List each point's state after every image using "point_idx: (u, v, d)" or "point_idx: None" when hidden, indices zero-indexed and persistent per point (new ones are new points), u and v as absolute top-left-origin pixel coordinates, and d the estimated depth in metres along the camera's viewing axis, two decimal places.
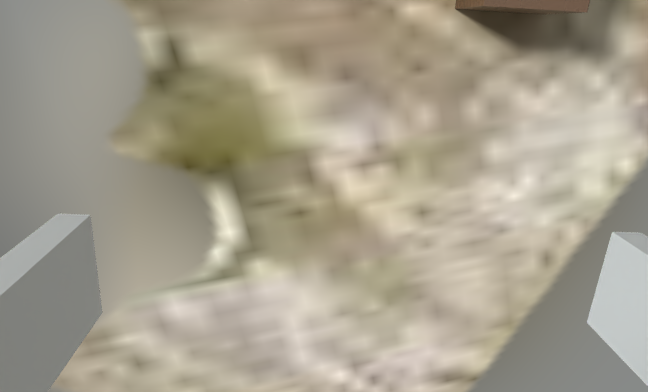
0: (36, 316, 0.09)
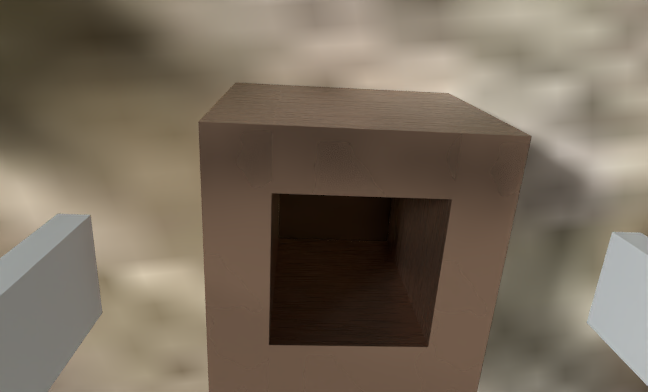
0: (36, 316, 0.09)
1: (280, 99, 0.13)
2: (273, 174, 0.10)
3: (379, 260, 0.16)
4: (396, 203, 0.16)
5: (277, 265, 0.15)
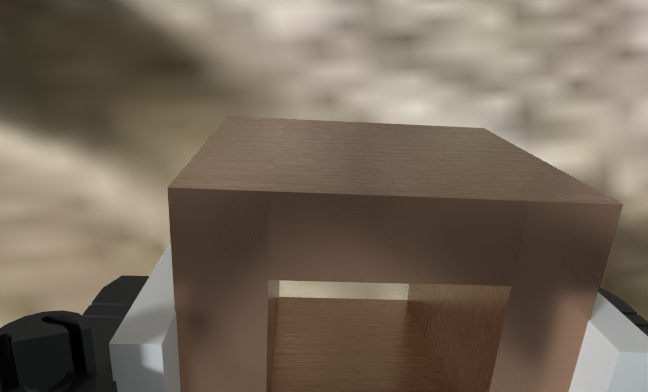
0: None
1: (281, 142, 0.10)
2: (270, 255, 0.07)
3: (400, 328, 0.13)
4: None
5: (277, 337, 0.13)
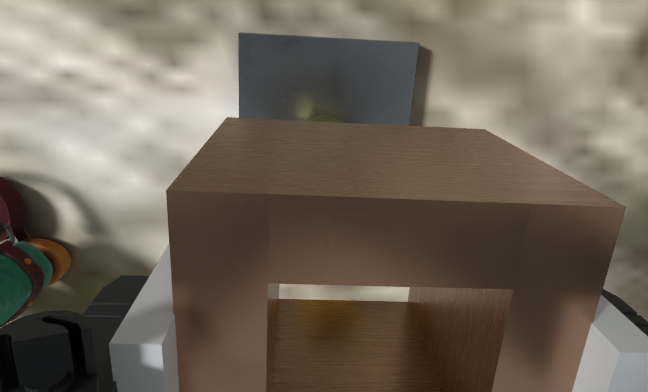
0: None
1: (281, 144, 0.10)
2: (270, 258, 0.07)
3: (401, 330, 0.13)
4: None
5: (277, 339, 0.13)
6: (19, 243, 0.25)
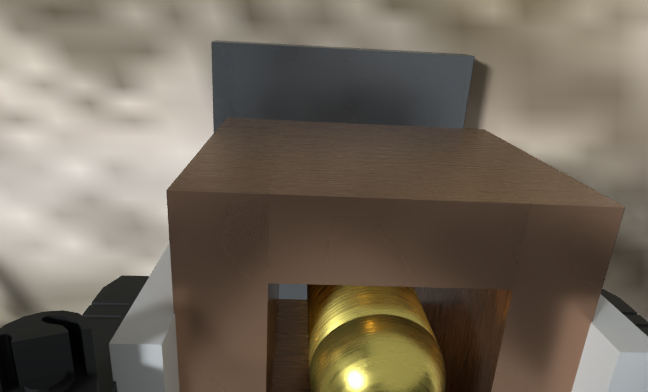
0: None
1: (281, 144, 0.10)
2: (270, 259, 0.07)
3: None
4: None
5: (277, 339, 0.13)
6: None
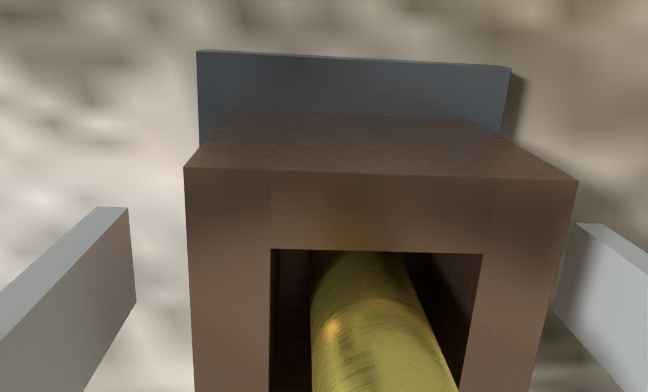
0: (85, 302, 0.10)
1: (281, 131, 0.11)
2: (272, 227, 0.09)
3: None
4: None
5: (278, 311, 0.14)
6: None
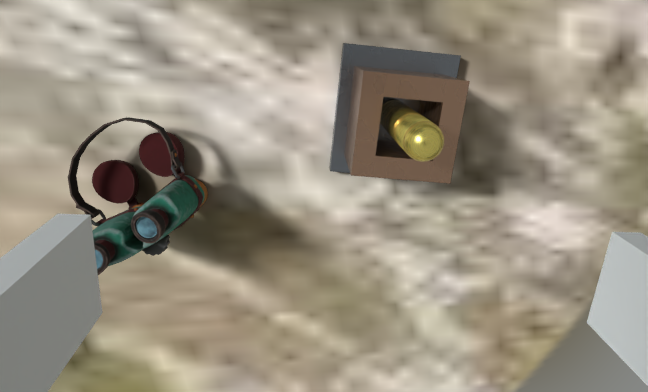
0: (36, 316, 0.09)
1: None
2: (384, 90, 0.31)
3: None
4: None
5: None
6: (186, 175, 0.37)
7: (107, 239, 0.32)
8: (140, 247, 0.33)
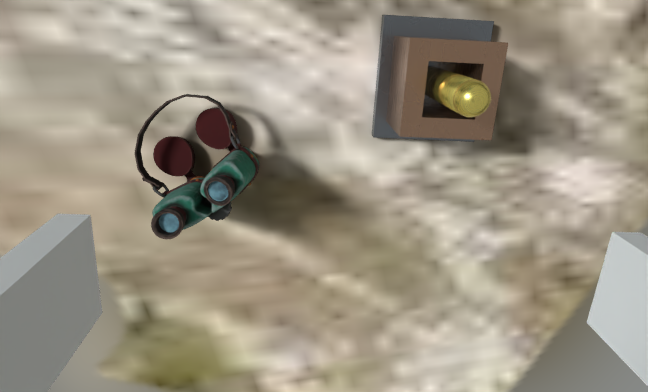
0: (36, 316, 0.09)
1: None
2: (429, 54, 0.33)
3: (450, 109, 0.39)
4: None
5: None
6: None
7: (179, 205, 0.35)
8: (208, 212, 0.36)
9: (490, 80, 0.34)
